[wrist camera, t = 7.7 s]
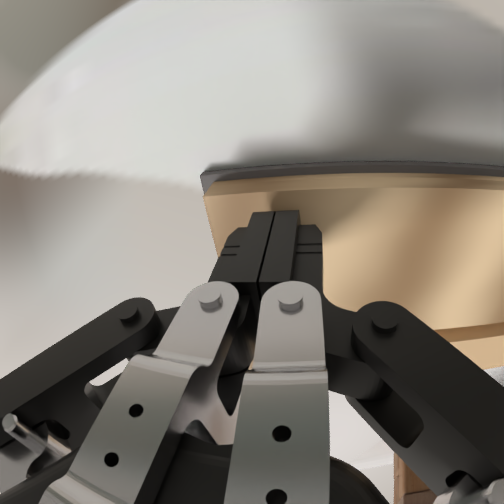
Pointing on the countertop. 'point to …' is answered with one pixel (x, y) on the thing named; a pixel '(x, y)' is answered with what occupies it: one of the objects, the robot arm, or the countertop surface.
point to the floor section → (463, 338)
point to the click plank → (390, 237)
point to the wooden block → (410, 486)
